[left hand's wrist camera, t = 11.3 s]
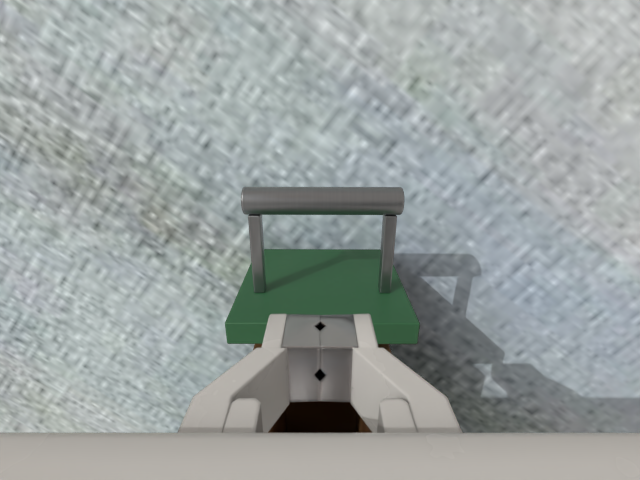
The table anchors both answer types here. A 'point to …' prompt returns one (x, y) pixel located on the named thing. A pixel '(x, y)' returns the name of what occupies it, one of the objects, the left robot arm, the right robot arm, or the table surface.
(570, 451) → the left robot arm
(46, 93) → the table surface
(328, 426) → the drawer
